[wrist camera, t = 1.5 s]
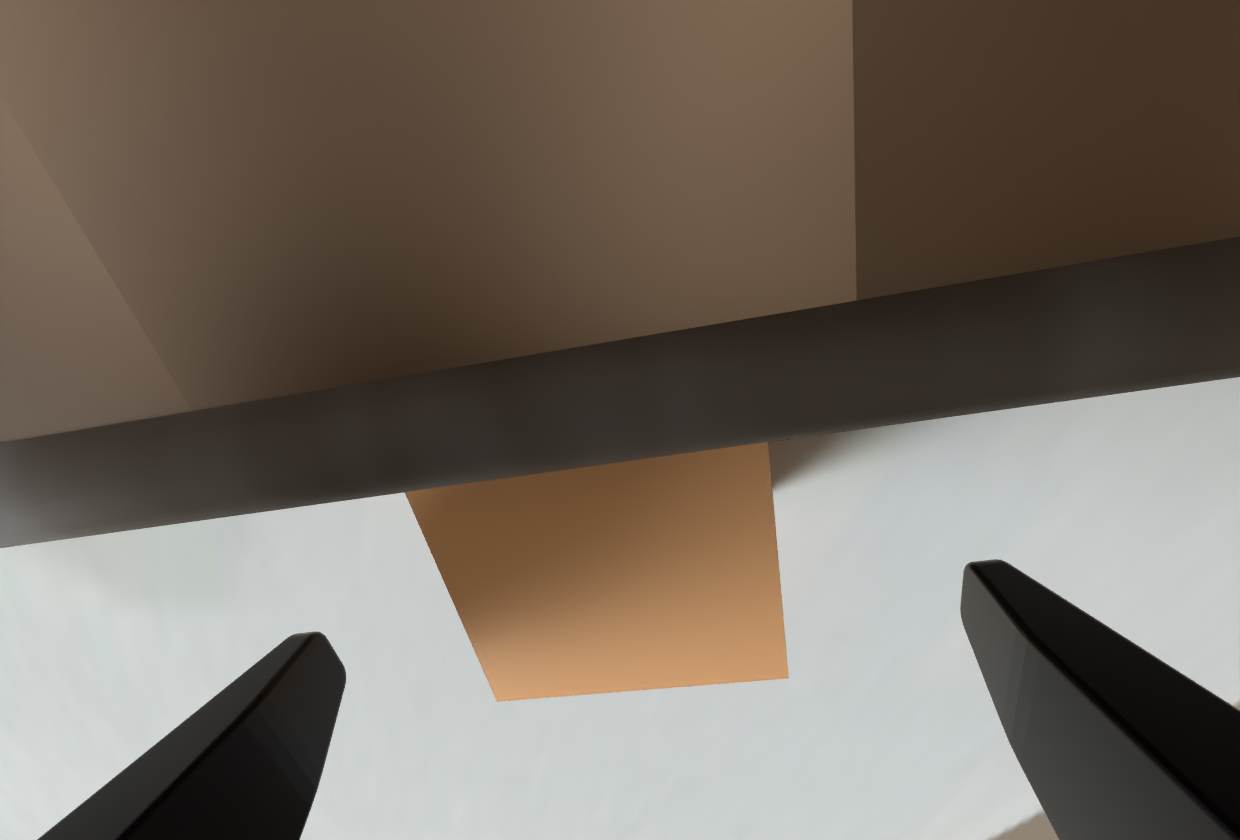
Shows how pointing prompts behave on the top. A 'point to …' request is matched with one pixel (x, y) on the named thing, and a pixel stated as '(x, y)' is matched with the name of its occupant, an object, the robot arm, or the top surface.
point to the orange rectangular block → (615, 573)
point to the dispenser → (581, 233)
